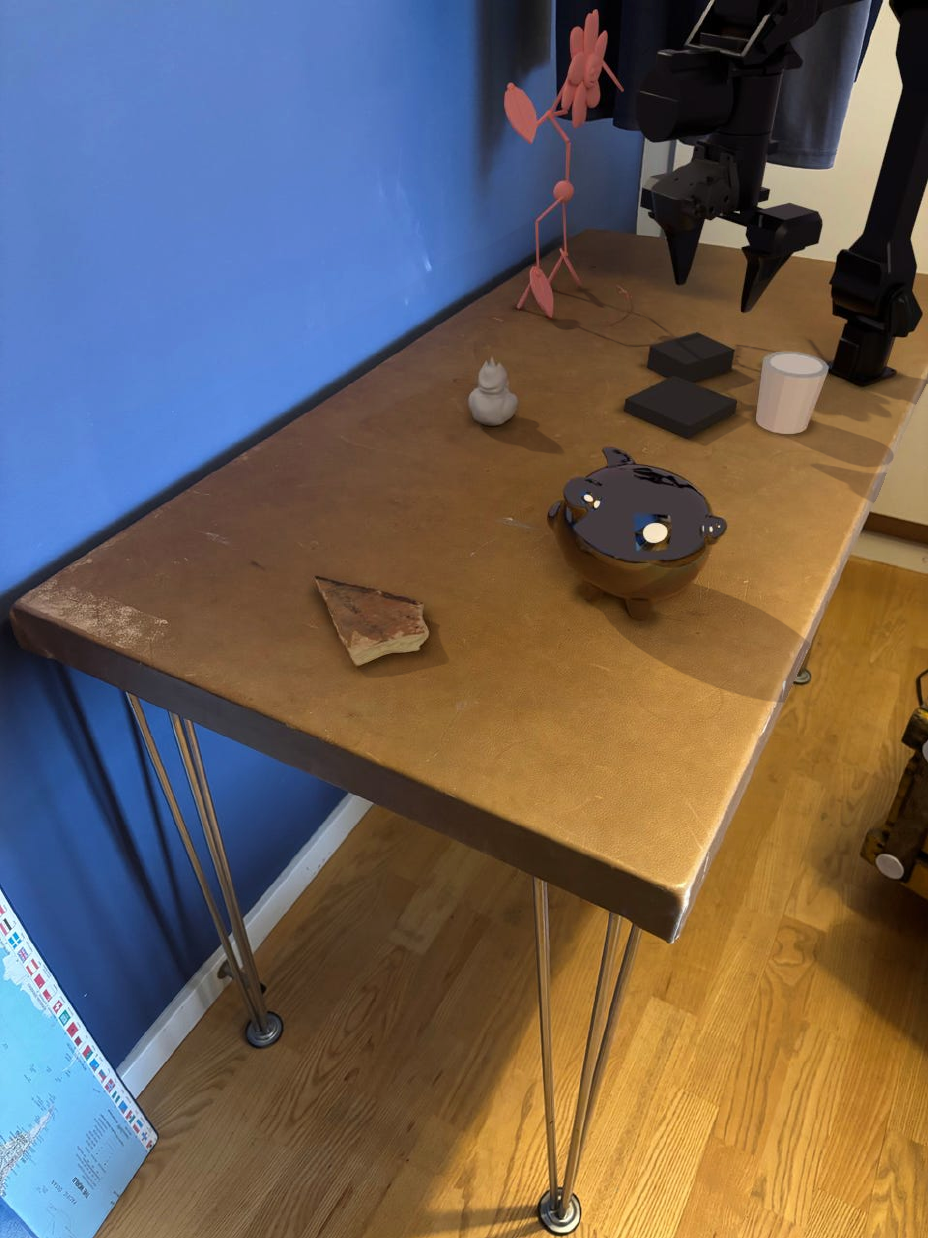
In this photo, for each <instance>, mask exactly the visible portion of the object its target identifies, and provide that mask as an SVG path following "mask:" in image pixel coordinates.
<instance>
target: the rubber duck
mask: <svg viewBox="0 0 928 1238" xmlns="http://www.w3.org/2000/svg"><path fill="white" fill-rule="evenodd" d="M477 386H478V387H476V388H474V389H473V390H472V391H471V392H470V394H469V396H468V408H469V411H470V413H471V414H472V418H473V419H474V421H476V422H477V423H479V424H482V425H485V426H490V427H495V426H501V425H503V424H504V423H505V422H507V421H509V420H511V418H512V417H513V416H514V415H515V413H516V412H517V410H518V406H519V405H518V404H519V399H518V397H517V395H516V394H515V393H513V392H511V391H510V381H509V380H508V372H507V370H506V369H505V367H503V365H502V364H501V362H498V364H497V365H496V363H495V359H494V357H493V355H491V357H490V360H489V362H488V360H485V361H484V363H483V366H482V367H481V369H480V370H479V373H478V379H477Z"/></svg>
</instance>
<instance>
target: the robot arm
mask: <svg viewBox="0 0 928 1238" xmlns="http://www.w3.org/2000/svg"><path fill="white" fill-rule="evenodd" d="M863 1H864V0H709V3H708V4H707V6H706V7H705V9H704V11H703V12H702V14H701V16H700V18H699V19H698V21H697V22H696V24H695V26H694V27H693V29H692V31H691V32H690V35H689V36H688V38H687V40H686V41H685V43H684V45H683V50H675V49H662V50H661V49H660V50H658V51H657V53H656V58H655V65H654V66H655V67H653V68H651V69H649V71H647V73H646V74H645V75H644V77H643V79H642V81H641V83H640V86H639V90H637V92H636V94H635V106H634V107H635V116H636V123H637V126H638V128H639V130H640V132H641V134H642V135H643V137H644V138H645V139H646V140H647V141H649V142H651V143H654V144H657V143H665V142H671V141H677V140H683V139H689V138H696V137H702V136H703V137H704V136H706V138H700V139H696V144H695V145H694V146H693V150H692V156H691V159H690V161H689V162H688V163H686V164H684V165H681V166H678V167H677V168H675V169H674V170H672V171H669V172H664V173H660V174H654V175H651V176H648V178H647V180H646V181H645V182H644V184H643V185H642V187H641V193H640V203H639V207H640V208H643V209H645V210H648V211H647V216H648V217H649V219H651V220H653V221H654V222H656V224H657V225H658V226H659V227H660V228H661V229H662V231H663V232H664V235H665V240H666V243H667V247H668V252H669V256H670V262H671V266H672V272H673V273H672V274H673V277H674V282H675V285H677V286H679V287H680V286H683V285H685V284H686V283H687V280H688V278H689V276H690V272H691V271H692V267H693V263H694V259H695V256H696V253H697V250H698V245H699V243H700V239H701V234H702V232H703V228H704V224H705V221H706V220H707V221H710V222H711V221H713V220H714V219H716V218H718V219H721V220H723V221H727V222H730V223H732V224H736V225H738V226H742V227H745V228H746V229H745V238H746V240H747V242H748V245H744V246H741V247H740V248H741V249H740V250H741V251H742V254H743V255H744V257H745V259H746V262H747V263H746V269H745V275H744V280H743V287H742V291H741V300H740V313H743V314H746V313H749V312H751V311H752V310H753V308H754V307H755V305H756V304H757V303H758V301H759V299H760V298H761V297H762V295H763V293H764V292H765V291H766V290H767V288H768V287H769V285H770V284H771V283H772V281H773V279H774V277H776V275H777V274H778V273H779V271H780V270H781V268H783V266H784V265H785V264H786V263H787V261H789V259H790V258H791V257H792V255H794V253H798V252H801V251H804V250H805V249H806V248H807V247H811V246H815V245H818V244H819V242H820V238H821V235H822V234H821V233H822V231H823V226H824V225H823V222H824V221H823V218H822V216H821V215H820V212H819V211H818V210H814V209H811V208H808V207H805V206H802V205H799V204H795V203H792V202H787V203H782V204H779V205H775V206H771V207H767V208H763V207H760V206H759V204H760V203H763V202H767V201H769V197H770V193H771V189H770V188H767V187H765V186H763V182H764V176H765V171H766V166H767V161H768V156H771V155H776V154H778V151H779V147H780V140H775V139H772V133H773V128H774V124H775V118H776V113H777V108H778V101H779V95H780V91H781V86H782V81H783V74H784V72H785V71H791V70H799V69H801V68H802V66H803V65H804V60H803V58H802V57H801V55H800V54H799V53H798V52H797V51H796V49H795V48H794V46H793V44H792V40H794V39H796V38H798V37H799V36H801V35H803V34H805V33H807V32H808V31H810V30H812V29H813V28H814V27H815V26H816V24H817V23H818V21H819V20H820V18H821V17H822V16H824V15H825V14H827V13H830V12H831V11H834V10H838V9H840V8H843V7H844V8H845V7H846V6H850V5H854V4H856V3H859V2H863ZM888 6H889V8H890V10H891V12H892V14H893V15H894V17H895V19H896V21H897V23H898V25H899V28H898V34H897V41H896V47H895V59H896V63H897V64H896V65H897V68H898V72H899V77H900V81H901V92H900V95H899V99H898V103H897V108H896V111H895V114H894V118H893V122H892V125H891V129H890V133H889V135H888V141H887V144H886V147H885V151H884V155H883V158H882V162H881V166H880V170H879V173H878V177H877V180H876V183H875V187H874V192H873V195H872V199H871V203H870V207H869V210H868V213H867V217H866V221H865V225H864V229H863V231H862V234H861V235H860V236H858V238H857V239H856V240H855V241H854V242H853V243H852V244H851V245H850V246H849V248H842V249H840V250H839V252H838V253H837V255H836V257H835V258H836V260H835V265H834V271H833V273H832V276H831V278H830V280H829V281H828V285H830V286H831V287H830V297H831V302H832V303H831V304H832V307H831V309H832V311H831V312H832V315H833V316H835V317H838V318H841V319H843V320H846V322H845V323H844V324H843V329H842V332H841V336H840V338H839V340H838V343H837V347H836V350H835V354H834V358H833V360H829V361H827V362H826V361H825V362H826V364H827V365H828V366H829V369H828V373H831V374H834V375H836V376H838V377H840V378H843V379H845V380H846V381H849V382H851V383H853V384H855V385H857V386H861V387H866V386H869V385H872V384H875V383H878V382H880V381H883V380H886V379H889V378H892V377H894V376H896V375H897V373H898V370H897V369H895V368H892V367H890V366H888V363H889V360H890V356H891V353H892V351H893V347H894V343H895V341H896V338H900V339H901V338H902V339H905V338H908V336H909V334H910V333H913V332H915V330H916V328H917V327H918V325H919V323H920V321H921V319H922V318H923V315H924V313H923V310H922V308H921V306H920V304H919V302H918V299H917V298H916V296H915V293H914V292H913V289H914V283H915V279H916V275H917V269H918V264H917V259H916V255H915V251H914V247H913V243H912V242H913V241H912V235H913V232H914V227H915V225H916V222H917V219H918V216H919V215H918V214H919V211H920V209H921V205H922V201H923V199H924V194H925V191H926V188H927V185H928V0H888Z"/></svg>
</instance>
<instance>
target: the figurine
mask: <svg viewBox="0 0 928 1238" xmlns="http://www.w3.org/2000/svg"><path fill="white" fill-rule="evenodd" d="M599 18H600V17H599V11H598V9H594V10H593V11H592V13H588V14H587V16H586V18H585V22H584V30H583V28H581V27H580V26H576V27H573V28H572V30H571V32H570V37H569V49H570V52H569V53H570V59H571V61H570V65H569V67H568V71H567V77H566V79H565V82H564V83H563V85H562V87H561V89H560V91H559V93H558V95H557V96H556V98H555V100H554V102H553V104H552V106H551V108H550V109H549V110H546V112H545V114H544V115H542V117H541V118H539V119H537V111H536V109H535V107H534V105H533V102H532V101H531V99H530V97H528V96H527V94H526V92H525V91H524V90H523V89H521V88H519V87H518V86H515V84H514V83H513V82H509V83H508V84H507V86H506V87H507V90H506V91H505V92H504V101H503V102H504V103H503V105H504V106H503V107H504V111H505V114H506V118H507V119H508V121H509V123H510V125H511V127H512V128H513V130H514V131H515V132H516V133H517V134H518V135H519V136H520V137H521V138H522V139H523V140H524V141H526V142H527V143H528V144H529V145H532V144H533V142H534V139H535V137H536V132H537V129H538V128H539V127H540V126H541V124H543V123H544V122H545V121H546V120H548V121H551V123H552V124H553V126H554V128H555V129H556V130H557V132H558V133H559V135H560V136H561V138H562V140H563V141H564V142H565V180H560V181H558V182H557V183H556V185H554V188H553V197H554V199H555V200H556V201H555V202H554V203H552V205H551V206H550V207H548V209H546V210H545V211H544V212H543V213H542V214H541V215H540V216H539V217H538V218H537V219H536V220H535V222H534V223H535V224H534V225H535V252H536V253H535V255H536V258H535V259H536V265H535V266H532V267H531V269H530V270H529V281H530V282H529V283H528V286H527V287H526V289H525V291H524V293H523V294H522V295H521V298H520V300H519V301H518V303H517V306H516V308H517V309H521V308H522V306H523V304H524V303H525V301H526V299H527V297H528V295H529V293H530V291H532V294H533V296H534V298H535V300H536V302H537V304H538V305H539V307H540V308H541V309H542V310H543V311H544V312H545V314H546V315H547V316H548V317H549V318H550V319H551V318H552V317H553V314H554V303H555V302H554V301H555V300H554V295H553V289H552V286H551V283H552V281H553V279H554V277H555V275H556V273H557V272H558V270H559V268H560V266H561V265H562V263H563V262H565V264H566V266H567V267H568V269H569V272H570V273H571V275H572V277H573V279H574V280H575V282H576V283H577V285H578V286H579V288H580V289H583V285H582V283H581V281H580V279H579V277H578V275H577V273H576V271H575V269H574V267H573V265H572V263H571V261H570V259H569V258H568V256H569V253H568V251H567V248H568V247H567V221H566V220H567V219H566V218H567V217H566V203H568V202H570V201H571V200H572V198H573V196H574V193H575V189H574V186H573V184H572V183H571V182H570V181H569V180H570V164H571V149H572V148H571V147H572V143H571V140H570V138H569V137H568V135H567V134H566V133H565V131H564V130H563V129H562V127H561V126H560V124H559V123H558V122H557V121H556V119H555V118H556V117H561V116H564V115H567V114H568V113H569V110H570V108H571V117H572V126H573V129H574V130H576V129H578V128H579V126H583V125H584V123H585V121H586V117H587V109H589V108H590V109H593V108H596V107H597V106H598V104H599V103H600V100H601V89H600V84H599V81H598V80H599V78H600V75H601V72H602V70H603V69H604V71H606V73H607V75H609V77H610V79H611V80H612V81H613V82H614V84H615V85H616V86H617V88H618V89H619V90H620V92H622V93H623V92H624V91H625V90H624V88H623V86H622V85H621V84H620V82H619V80H618V79H617V78H616V76H615V74H614V73H613V72H612V70H611V69H610V67H609V65H607V63H606V61H605V60H604V58H605V55H606V50H607V45H608V38H609V37H608V32H607V30H603V32H602V33H600V35H599V27H600V23H599V22H600V21H599V20H600V19H599ZM602 68H603V69H602ZM560 101H561V110H557V111H555V110H556V108H557V106H558V104H559V103H560ZM571 106H572V107H571ZM554 117H555V118H554ZM559 203H562V223H563V224H562V227H563V248H562V247H560V248H559V252H560V254H561V255H560V257H559V259H558V261H557V262H556V264H555V266H554V268H553V270H552V271H551V274H550V275H549V277H548V278H547V276H546V274H545V272H544V271H543V270H542V269H541V268H540V246H539V245H540V243H539V237H540V236H539V222H540V221H541V220H542V219H544V217H546V216H547V215H548V213H550V212H551V211H552V210H553V209H554V208H555V207H556V206H557V205H558V204H559ZM563 249H564V250H563ZM616 287H617V288H619V289H620V290H622V291H623V293H624V294H626V296H627V298H628V299H630V297H629V295H628V293H627V292H626V290H625V289H623V288H622V287H620V286H619V285H618V284H617V285H616ZM630 296H631V298H633V296H632V295H630ZM628 308H629V306H627V307H626V308H625V309H624V310H623V311H622V312H621V313H619V314H618V315H616V316H614V317H612V318H610V319H606V320H604V321H601V324H604V323H606V322H609V321H612V320H614V319H616V318H618V317H620V316H621V315H622V314H624V313H625V312H626V311H627V309H628ZM630 310H631V308H629V309H628V311H627V313H628V312H629V311H630ZM493 319H494V320H496V321H500V322H501V323H503V322H504V319H503V320H502V319H500V318H496V317H493Z"/></svg>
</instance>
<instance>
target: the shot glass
mask: <svg viewBox="0 0 928 1238" xmlns="http://www.w3.org/2000/svg"><path fill="white" fill-rule="evenodd" d="M828 369H829V366H828V365H827V364H826V361H825V360H823V359H822V358H820V357H819V356H814V355H812V354H809V353H805V352H799V351H794V350H793V351H792V350H791V351H790V350H789V351H788V350H787V351H784V350H782V351H776V352H771V353H769V354H767V355H765V356H764V358H763V360H762V365H761V375H760V382H759V391H758V397H757V407H756V414H755V421H756V423H757V425H758V426H760V427H761V428H763V429H764V430H766V431H768V432H771V433H775V434H781V435H794V434H799V433H803V432H804V431H806V430H807V428H808V425H809V423H810V420H811V418H812V415H813V412H814V410H815V407H816V404H817V403H818V402H817V401H818V399H819V397H820V394H821V390H822V389H823V386H824V383H825V380H826V377H827V375H828V373H829V371H828Z"/></svg>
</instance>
